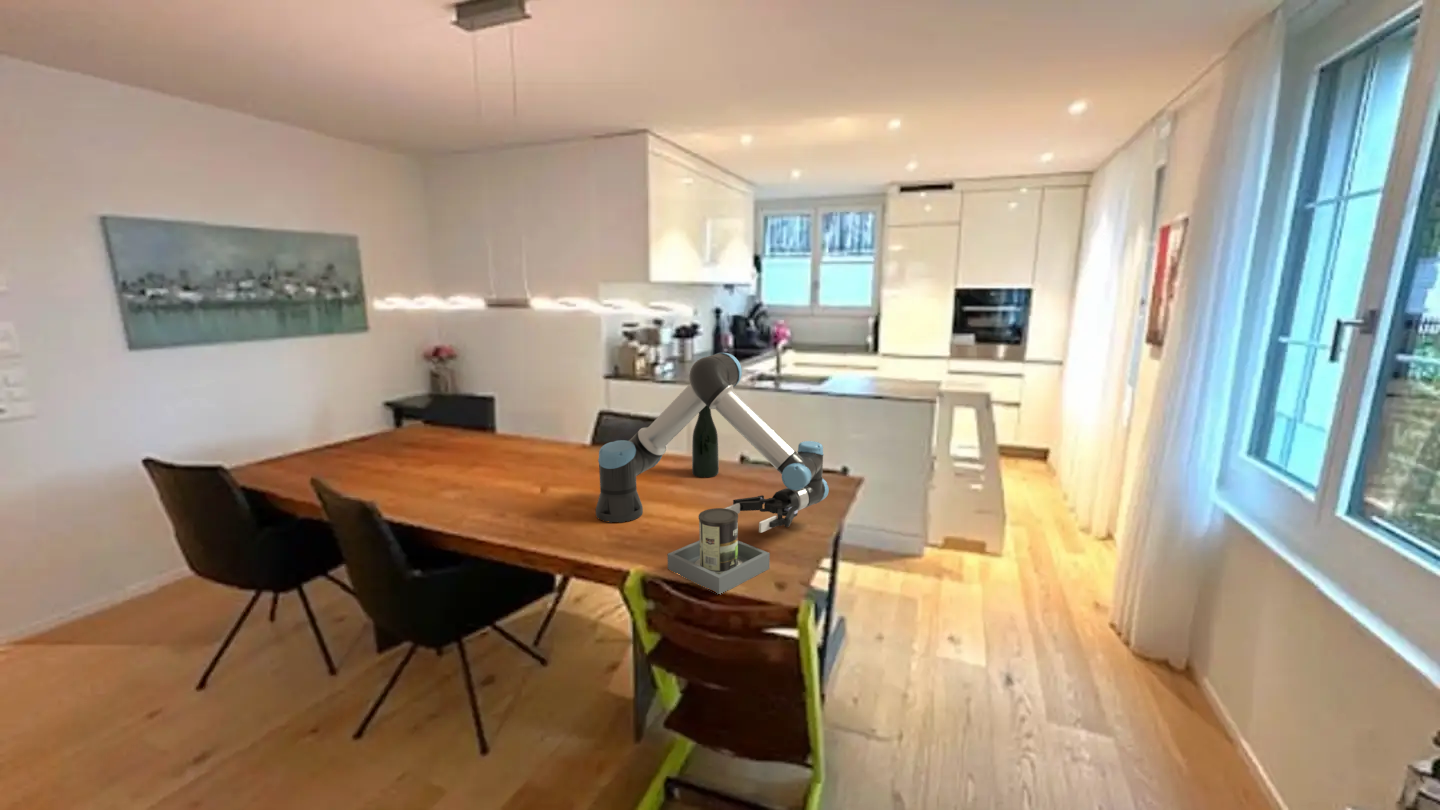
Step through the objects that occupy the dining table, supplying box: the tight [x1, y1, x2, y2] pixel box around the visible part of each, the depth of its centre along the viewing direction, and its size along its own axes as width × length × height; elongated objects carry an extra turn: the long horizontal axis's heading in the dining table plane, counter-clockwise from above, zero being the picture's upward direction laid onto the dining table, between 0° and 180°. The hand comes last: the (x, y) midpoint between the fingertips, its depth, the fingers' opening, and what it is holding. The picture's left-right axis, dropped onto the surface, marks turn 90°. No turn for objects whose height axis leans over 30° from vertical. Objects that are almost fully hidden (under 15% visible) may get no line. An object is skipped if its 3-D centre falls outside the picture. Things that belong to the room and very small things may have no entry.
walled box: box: [667, 539, 771, 595], centre depth 159 cm, size 19×19×4 cm
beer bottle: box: [691, 405, 720, 478], centre depth 235 cm, size 10×10×33 cm
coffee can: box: [697, 507, 739, 574], centre depth 158 cm, size 10×10×14 cm
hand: (740, 520), depth 163 cm, fingers open, 13 cm apart
